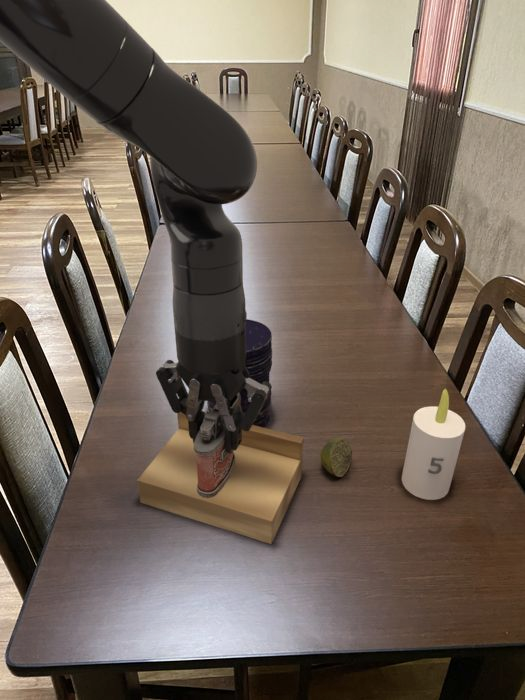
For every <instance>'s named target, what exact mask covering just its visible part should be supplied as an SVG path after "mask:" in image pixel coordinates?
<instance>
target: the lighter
mask: <svg viewBox="0 0 525 700" xmlns="http://www.w3.org/2000/svg"><path fill="white" fill-rule="evenodd" d="M205 413H206V414H205V417H204V421H203V424H202V425H201V427H200V430H199V432H198V434H197V436H196V439H195V441H194V451H195V453H196V462H197V476H198V483H197V493H198V495H199V496H201V497H203V498H212V497H215V496H216V495H217V494H218V493H219V492H220V490H221V489H222V488H223V487H224V485H225V484H226V482H227V481H228V479H229V478H230V475H231V473H232V471H233V468H234V464H235V454H234V452H233V453H232V454H230V453H226V452H225V429H226V425H225V421H224V418H223V416H221V415H220V413H219V410H218V407H217V404H216V405H215V406H214V408H213V409H212V411H211V412H209V411H206V412H205Z"/></svg>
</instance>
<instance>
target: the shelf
mask: <svg viewBox="0 0 525 700" xmlns="http://www.w3.org/2000/svg"><path fill="white" fill-rule="evenodd" d="M206 413H207V412H205V414H206ZM176 415H177V425H178V429H177V430H176V431H175V432H174V434H173V435H171V437H170V439H169V440H168V441H167V442H166V443H165V445H164V446H163V448H162V449H161V450H160V451H159V452H158V454H157V455H156V456H155V458H154V459H152V461H151V462H150V463H149V465H148V466H147V467H146V468H145V470H144V471H143V472H142V473H141V475H140V476H139V477H138V479H137V487H138V495H139V500H140V503H141V504H144V505H147V506H149V507H154V508H157V509H159V510H163V511H165V512H169V513H171V514H174V515H178V516H180V517H184V518H187V519H191V520H193V521H197V522H199V523H204V524H206V525H210V526H213V527H216V528H219V529H222V530H225V531H227V532H232V533H234V534H238V535H240V536H244V537H248V538H250V539H253V540H257V541H259V542H263V543H266V544H269V545H272V544H273V543H274V540H275V537H276V536H277V534H278V531H279V529H280V526H281V524H282V521H283V519H284V517H285V515H286V513H287V511H288V508H289V506H290V504H291V502H292V499H293V497H294V495H295V493H296V491H297V488H298V485H299V483H300V481H301V479H302V472H303V471H302V470H303V458H304V457H303V456H304V439H305V438H304V437H303V436H298V435H294V434H290V433H287V432H282V431H278V430H274V429H271V428H267V427H265V428H263V427H259V426H255V425H252V426H251V428H250V430H249V431H244V430H242V441H241V443H240V445H239V446H238V448H237V450H236V451H235V450H234V451H233V452H234V454H235V464H234V468H233V471H232V473H231V475H230V478H229V479H228V481H227V482H226V484H225V485H224V487H223V488H222V489H221V490H220V492H219V493H218V494H217V495H216V496H215V497H212V498H203V497H201V496H199V495H198V493H197V483H198V476H197V462H196V453H195V451H194V443H193V439H191V438H190V436H189V427H188V419H187V418H186V416H185V414H183V413H181V412H180V413H176Z"/></svg>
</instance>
